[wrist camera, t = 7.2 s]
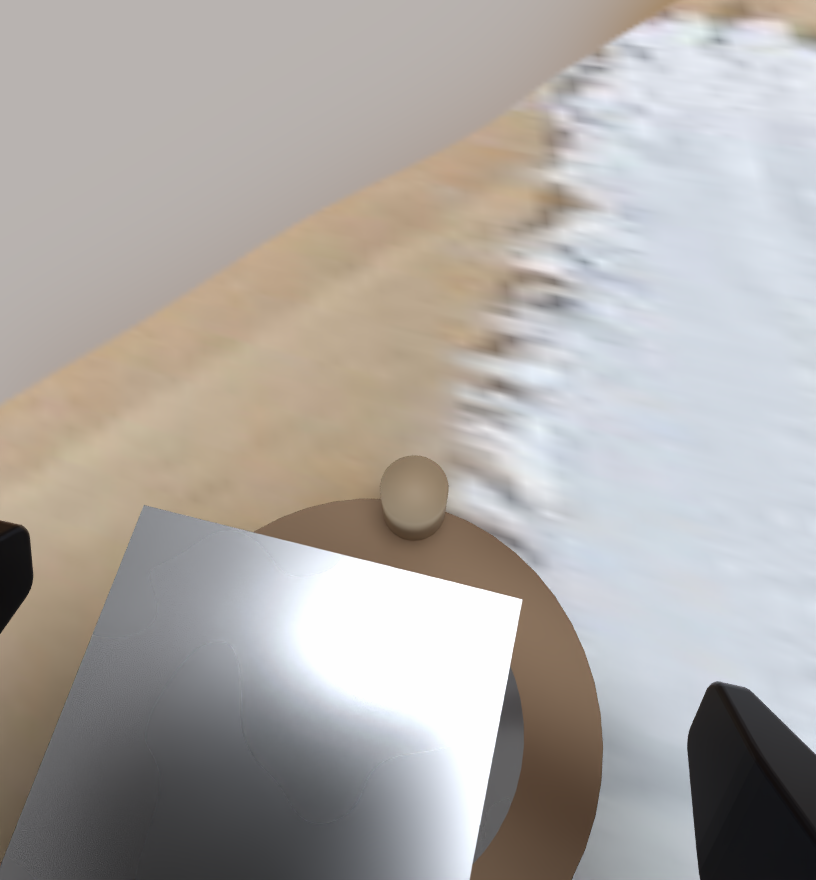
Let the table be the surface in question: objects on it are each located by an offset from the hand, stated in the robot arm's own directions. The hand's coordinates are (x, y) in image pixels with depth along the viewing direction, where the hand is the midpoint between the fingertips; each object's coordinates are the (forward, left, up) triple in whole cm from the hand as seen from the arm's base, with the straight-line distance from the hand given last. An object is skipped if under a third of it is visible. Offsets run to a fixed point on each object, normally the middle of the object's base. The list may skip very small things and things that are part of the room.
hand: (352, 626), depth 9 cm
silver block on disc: (-1, 0, -8) cm, 9 cm away
